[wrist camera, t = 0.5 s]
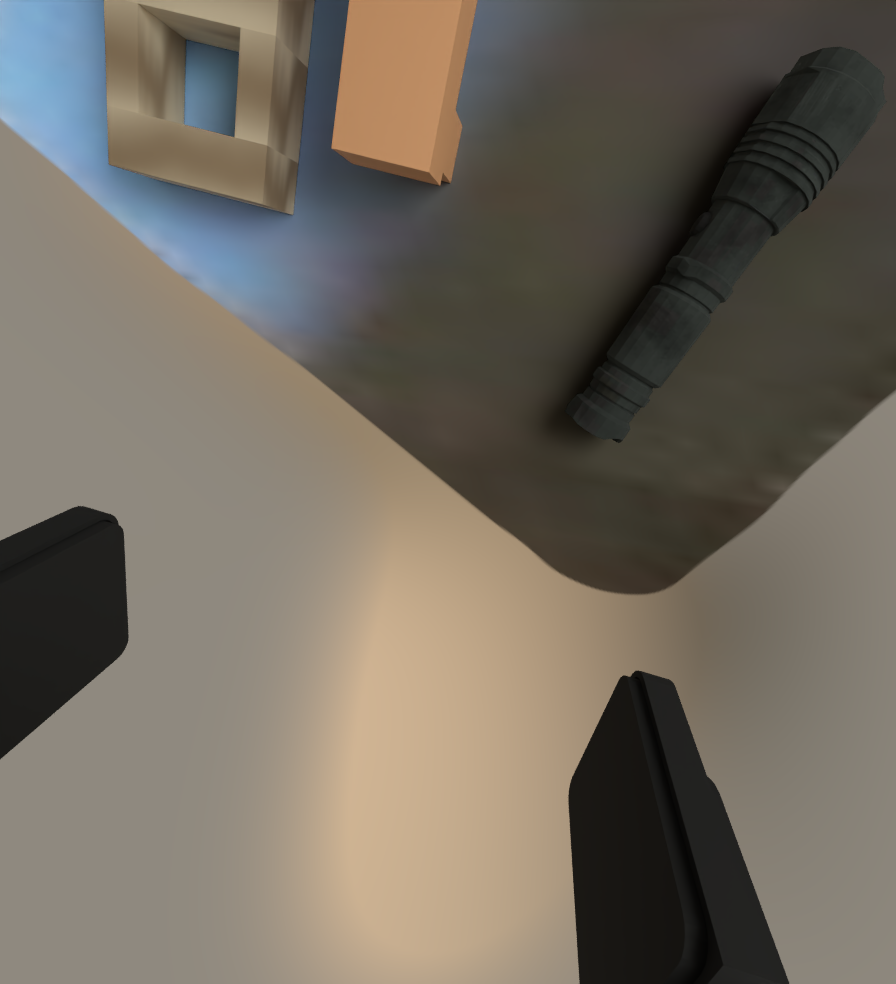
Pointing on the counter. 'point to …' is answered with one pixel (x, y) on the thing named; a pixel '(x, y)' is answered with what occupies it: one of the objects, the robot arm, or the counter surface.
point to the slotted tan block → (161, 94)
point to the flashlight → (737, 226)
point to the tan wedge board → (403, 86)
